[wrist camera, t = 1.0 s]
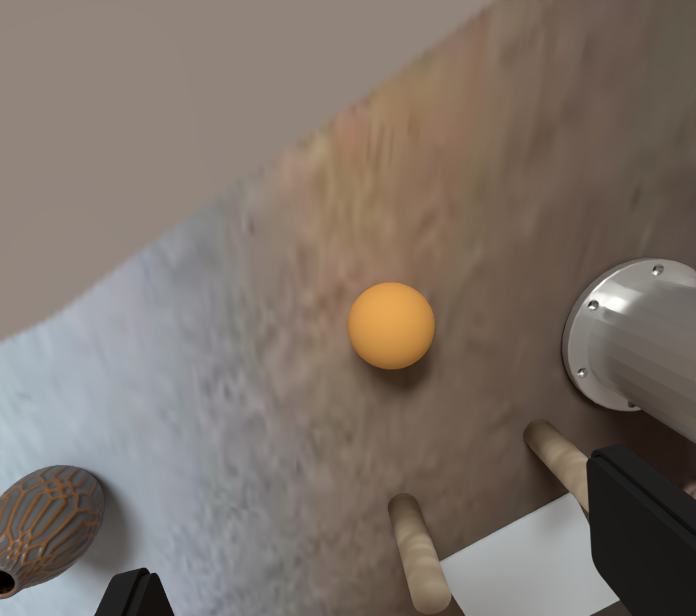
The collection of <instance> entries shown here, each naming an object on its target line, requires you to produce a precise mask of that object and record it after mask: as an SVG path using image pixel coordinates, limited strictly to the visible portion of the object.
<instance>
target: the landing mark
mask: <svg viewBox="0 0 696 616" xmlns="http://www.w3.org/2000/svg"><path fill="white" fill-rule="evenodd" d="M440 565H441V568H442V570H443V573H444V576H445V578H446V581H447V584H448V587H449V589H450V592H451V594H452V595H453V597H454V598H455V600H456V602H457V603H458V605H459V606H460V608H461V609H462V611H463V613H464V614H465V616H590V615H592V614H594V613H596V612H598V611H599V610H601V609H603V608H605V607H607V606H609V605H611V604H613V603H615V602H617V601H619V600H620V599H619V598H618V597H617V595H616V594H615V593H614V592H613V591H612V589H611V588H610V587H609V586H608V584H607V583H606V582H605V581H604V579H603V578H602V577H601V576H600V574H599V573H598V571H597V569H596V568H595V565H594V563H593V560H592V556H591V540H590V526H589V524H588V522H587V519H586V517H585V515H584V513H583V511H582V509H581V507H580V505H579V503H578V501H577V499H576V498H575V497H574V496H573V495H572V494H571V493H570V492H569V493H567V494H566V495H564V496H562V497H560V498H558V499H556V500H554V501H552V502H551V503H549V504H547V505H545V506H543V507H541V508H539V509H537V510H536V511H534V512H532V513H530V514H528V515H526V516H524V517H522V518H521V519H519V520H517V521H515V522H513V523H511V524H509V525H507V526H506V527H504V528H502V529H500V530H498V531H496V532H494V533H492V534H491V535H489V536H487V537H485V538H483V539H481V540H479V541H477V542H476V543H474V544H472V545H470V546H468V547H466V548H464V549H462V550H461V551H459V552H457V553H455V554H453V555H451V556H449V557H447V558H446V559H444V560H442V561H440Z"/></svg>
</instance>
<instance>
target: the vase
mask: <svg viewBox="0 0 696 616" xmlns="http://www.w3.org/2000/svg"><path fill="white" fill-rule="evenodd" d="M104 509H105V501H104V494H103V491H102V489H101V486H100V485H99V483H98V481H97V480H96V479H95V478H94V477H93V476H92V475H91V474H89V473H88V472H86V471H85V470H83V469H80V468H77V467H74V466H67V465H56V466H49V467H46V468H43V469H39V470H37V471H35V472H33V473H30V474H28V475H27V476H25V477H23V478H22V479H20V480H19V481H17V482H16V483H15V484H13V485H12V486H11V487H10V488H9V489H8V490H6V491H5V492H4V493H3V494H2V495H1V496H0V599H6V598H9V597H11V596H13V595H15V594H16V593H18V592H19V591H21V590H23V589H25V588H28V587H32V586H35V585H38V584H41V583H44V582H47V581H49V580H51V579H53V578H55V577H57V576H58V575H60V574H62V573H63V572H64V571H66V570H67V569H68V568H70V567H71V566H72V565H73V564H74V563H75V562H76V561H77V560H78V559H79V558H80V557H81V556H82V555H83V554H84V553H85V552H86V551H87V549H88V548H89V546H90V545H91V543H92V542H93V540H94V538H95V536H96V535H97V533H98V530H99V528H100V526H101V523H102V519H103V515H104Z"/></svg>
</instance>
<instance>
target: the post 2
mask: <svg viewBox="0 0 696 616" xmlns="http://www.w3.org/2000/svg"><path fill="white" fill-rule="evenodd" d="M524 440H525V442H526V443H527V444H528V446H529V447H530V448H531V449H532V450H533V451H534V452H535V453H536V455H537V456H538V457H539V458H540V459H541V460H542V461H543V462H544V464H545V465H546V466H547V467H548V468H549V469H550V470H551V471H552V473H553V474H554V475H555V476H556V477H557V478H558V479H559V480H560V481H561V483H562V484H563V485H564V486H565V487H566V488H567V489H568V490H569V492H570V493H571V494H572V495H573V496H574V497H575V498H576V499H577V501H578V502H579V503H580V504H581V505H582V506H583V507H584V508H585V510H586V511H587V512H588V513H589V506H588V488H587V471H586V462H587V460H588V458H587V457H586V456H585V455H584V454H582V453H581V452H580V451H579V450H578V449H577V448H576V447H575V446H574V445H573V444H572V443H571V442H570V441H569V440H567V439H566V438H565V437H564V436H563V435H562V434H561V433H560V432H559V431H558V430H557V429H556V428H555V427H554V426H552V425H551V424H550V423H549V422H548V421H546V420H535V421H533V422H531V423H530V424H529V425H528V426H527V427H526V429H525V431H524Z"/></svg>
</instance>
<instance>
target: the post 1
mask: <svg viewBox="0 0 696 616" xmlns="http://www.w3.org/2000/svg"><path fill="white" fill-rule="evenodd" d="M388 511H389V515H390V519H391V522H392V526H393V530H394V534H395V537H396V541H397V545H398V549H399V552H400V556H401V560H402V564H403V567H404V571H405V575H406V579H407V582H408V586H409V590H410V594H411V598H412V601H413V605H414V607H415V609H416V610H417V611H419V612H420V613H423V614H436V613H439V612H441V611H442V610H444V609H445V608H446V607H447V606H448V605H449V603H450V601H451V592H450V589H449V587H448V584H447V581H446V578H445V576H444V573H443V570H442V568H441V565H440V562H439V559H438V557H437V554H436V551H435V549H434V546H433V543H432V540H431V538H430V535H429V532H428V529H427V527H426V524H425V521H424V519H423V516H422V513H421V510H420V508H419V505H418V502H417V500H416V498H415V497H413V496H412V495H410V494H399V495H397V496H395V497H394V498H392V499H391V501H390V502H389V505H388Z"/></svg>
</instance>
